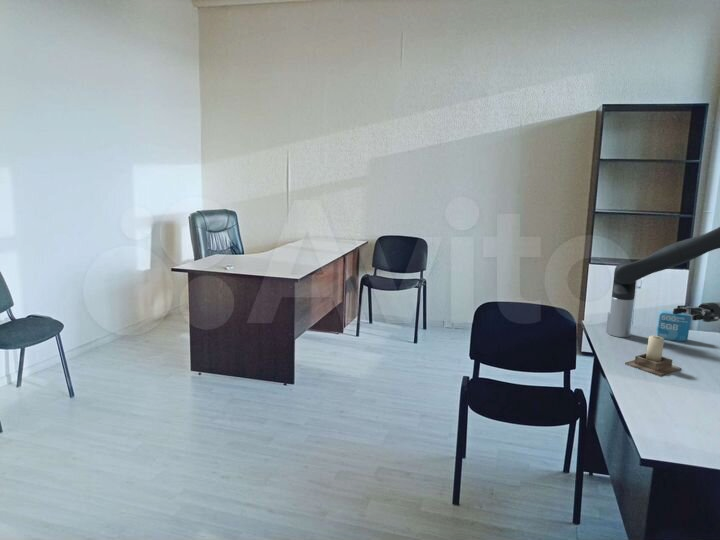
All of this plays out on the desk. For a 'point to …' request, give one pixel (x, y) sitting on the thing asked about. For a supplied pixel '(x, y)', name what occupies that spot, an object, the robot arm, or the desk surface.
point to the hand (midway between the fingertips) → (683, 314)
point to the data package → (673, 326)
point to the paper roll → (655, 348)
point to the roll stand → (653, 365)
